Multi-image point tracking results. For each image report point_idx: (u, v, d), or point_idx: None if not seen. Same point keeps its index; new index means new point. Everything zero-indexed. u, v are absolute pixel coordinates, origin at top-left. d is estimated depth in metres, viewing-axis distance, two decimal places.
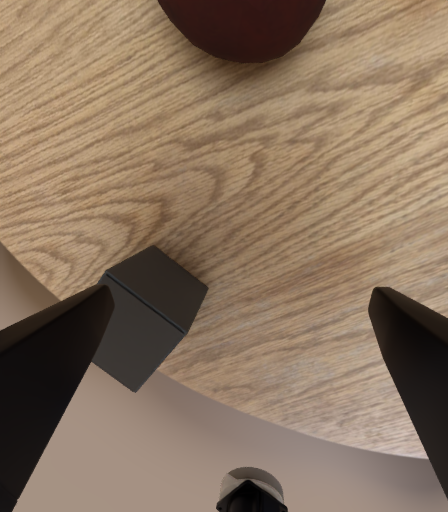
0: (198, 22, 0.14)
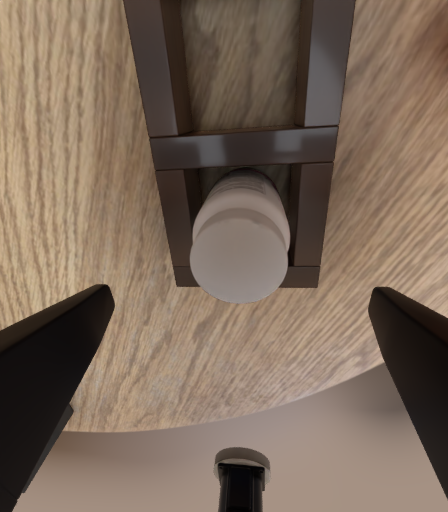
0: None
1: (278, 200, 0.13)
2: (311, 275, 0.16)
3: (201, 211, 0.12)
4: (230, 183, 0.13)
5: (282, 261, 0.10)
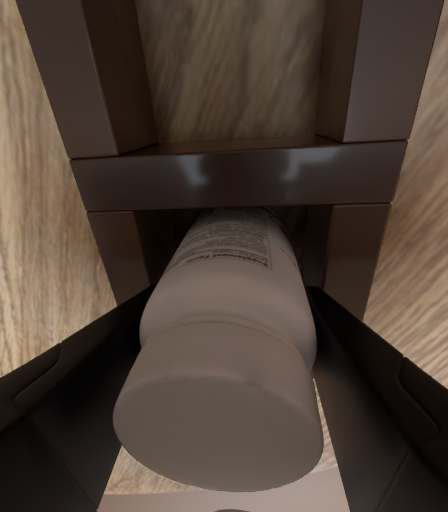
0: None
1: (293, 268, 0.07)
2: None
3: (151, 301, 0.06)
4: (209, 239, 0.07)
5: (312, 448, 0.04)
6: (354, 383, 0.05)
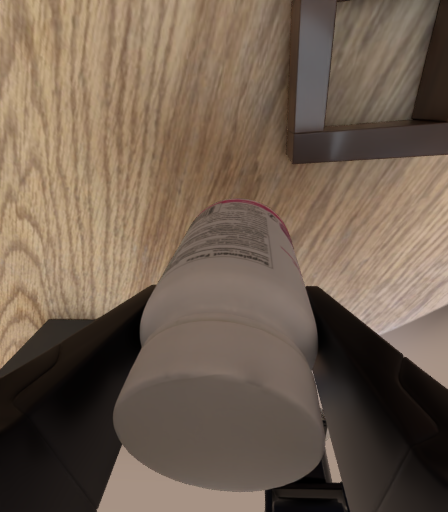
0: None
1: (294, 267, 0.07)
2: None
3: (151, 300, 0.06)
4: (210, 238, 0.07)
5: (313, 447, 0.04)
6: (354, 383, 0.05)
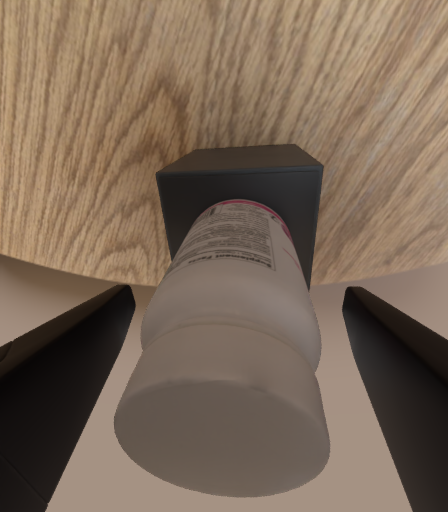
0: None
1: (296, 269, 0.07)
2: None
3: (153, 302, 0.06)
4: (211, 239, 0.07)
5: (318, 453, 0.04)
6: (428, 387, 0.05)
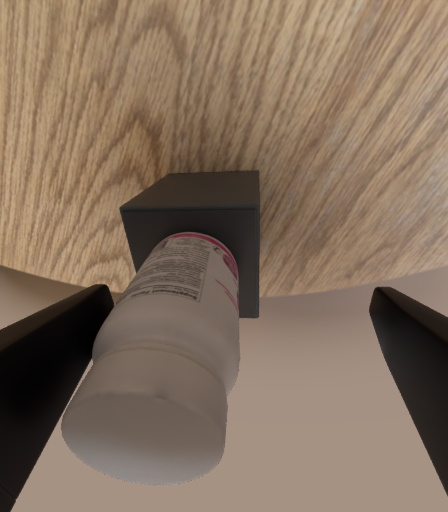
0: None
1: (224, 297, 0.09)
2: None
3: (100, 330, 0.08)
4: (154, 274, 0.09)
5: (214, 443, 0.06)
6: None
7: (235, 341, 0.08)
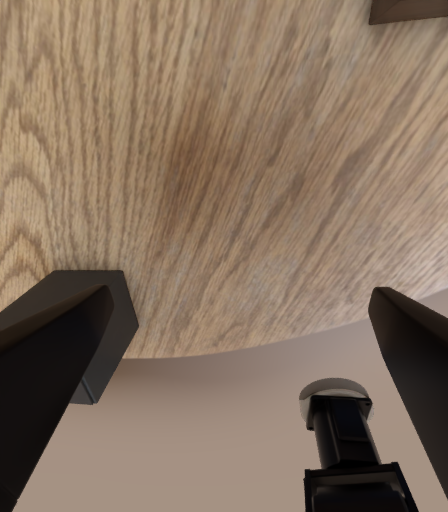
0: None
1: None
2: None
3: None
4: None
5: None
6: None
7: None
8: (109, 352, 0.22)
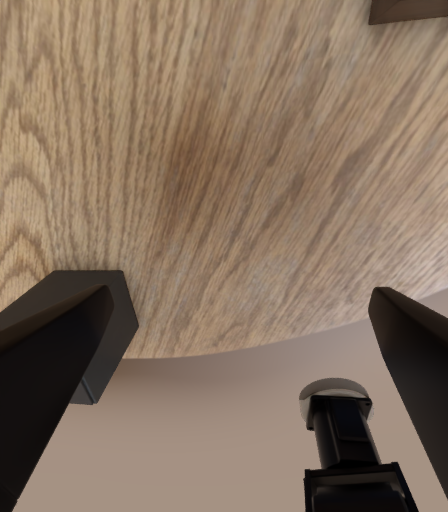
0: None
1: None
2: None
3: None
4: None
5: None
6: None
7: None
8: (109, 352, 0.22)
